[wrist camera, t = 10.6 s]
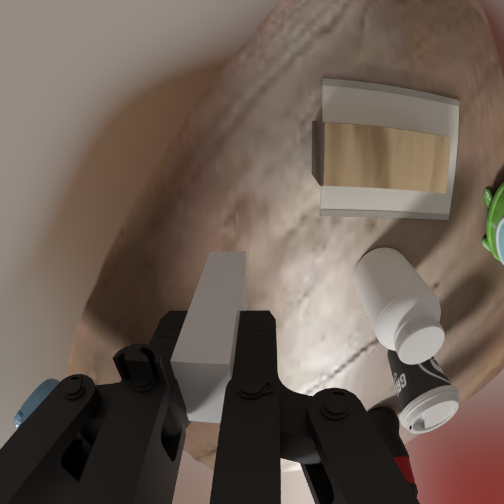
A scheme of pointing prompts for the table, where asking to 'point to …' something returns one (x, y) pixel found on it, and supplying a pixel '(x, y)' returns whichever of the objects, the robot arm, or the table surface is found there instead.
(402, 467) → the cola bottle
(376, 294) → the pill bottle
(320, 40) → the table surface
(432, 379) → the coffee cup
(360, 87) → the shallow grey tray
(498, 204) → the turtle holder
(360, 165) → the oak block
